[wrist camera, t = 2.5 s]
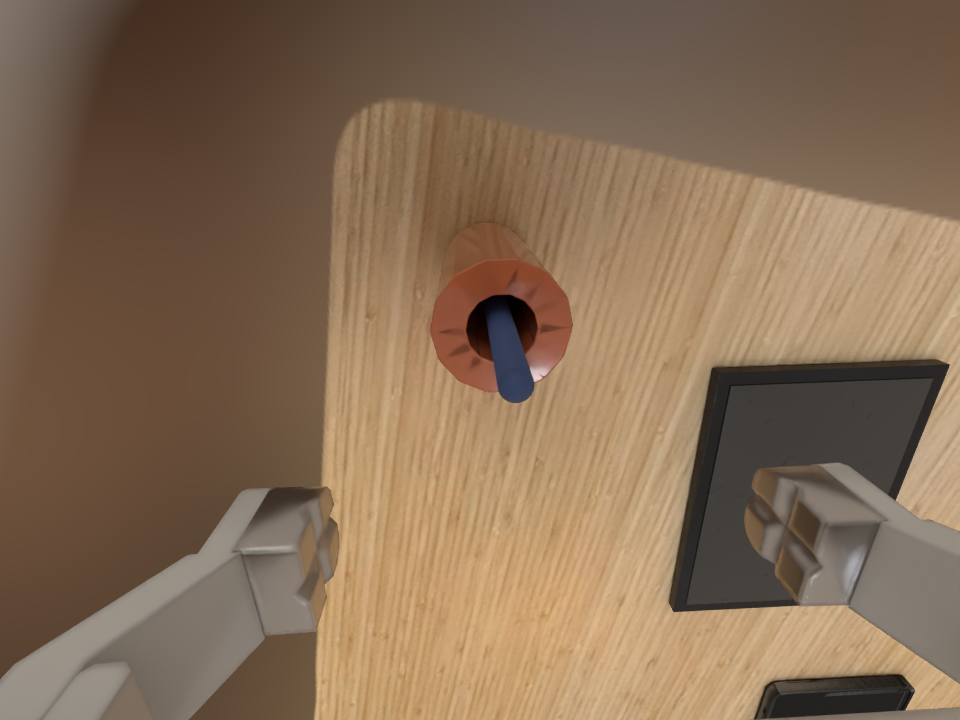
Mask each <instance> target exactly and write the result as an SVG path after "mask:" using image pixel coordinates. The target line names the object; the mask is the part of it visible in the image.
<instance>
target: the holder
mask: <svg viewBox="0 0 960 720" xmlns="http://www.w3.org/2000/svg"><path fill="white" fill-rule="evenodd" d="M493 295H505V297H506V300H507V303H508V306H509V309H510V312H511V315H512V318H513V321H514V324H515V327H516V329H517V332H518V335H519V338H520V341H521V344H522V347H523V350H524V353H525V356H526V359H527V362H528V365H529V367H530V370H531V373H532V376H533V379H534V383H536V382H538V381H540V380H542V379H543V378H545V377H546V376H547V375H548V374H549V373H550V372H551V370H552V369H553V368H554V367H555V366H556V365H557V364H558V362H559V361H560V360H561V359H562V358H563V357H564V355H565V352H566V349H567V345H568V342H569V339H570V335H571V332H572V327H573V323H572V318H571V312H570V307H569V301H568V297H567V296H566V294H565V293H564V291H563V290H562V289H561V288H560V286H559V285H558V284H557V282H556V281H555V280H554V279H553V277H552V276H551V275H550V274H549V272H548V271H547V270H546V269H545V268H544V266H543V265H542V264H541V263H540V262H539V260H538V259H537V258H536V257H535V256H534V254H533V253H532V252H531V251H530V250H529V248H528V247H527V246H526V245H525V244H524V243H523V241H522V240H521V239H520V238H519V237H518V235H517V234H516V233H515V232H514V231H512V230H510V229H509V228H507V227H505V226H503V225H500V224H497V223H492V222H481V223H476V224H473V225H470V226H468V227H466V228H464V229H463V230H461V231H460V232H459V233H457V234H456V235H455V236H454V238H453V239H452V240H451V242H450V243H449V245H448V247H447V248H446V250H445V254H444V259H443V264H442V269H441V275H440V280H439V285H438V290H437V295H436V300H435V305H434V311H433V317H432V323H431V329H430V332H431V337H432V340H433V343H434V346H435V349H436V352H437V356H438V359H439V360H440V362H441V363H442V364H443V365H444V366H445V367H446V368H447V369H448V370H449V371H450V372H451V373H452V374H453V375H454V376H455V377H456V379H457V380H458V381H460V382H462V383H464V384H467V385H470V386H472V387H475V388H477V389H480V390H482V391H485V392H487V391H488V392H499V391H498V387H497V381H496V375H495V369H494V363H493V357H492V351H491V345H490V339H489V333H488V327H487V321H486V314H485V308H484V302H483V300H485V299H487V298H489V297H491V296H493Z"/></svg>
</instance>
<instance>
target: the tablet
mask: <svg viewBox="0 0 960 720" xmlns="http://www.w3.org/2000/svg"><path fill="white" fill-rule="evenodd" d="M949 366H950V365H949V364H947V363H945V362H942V361H940V360H915V361H888V362H862V363H835V364H809V365H783V366H756V367H730V368H713V369H712V374H711V379H710V385H709V390H708V395H707V401H706V406H705V412H704V417H703V422H702V428H701V433H700V439H699V444H698V449H697V455H696V460H695V466H694V471H693V476H692V482H691V487H690V493H689V498H688V503H687V509H686V514H685V520H684V525H683V530H682V536H681V541H680V547H679V552H678V557H677V563H676V568H675V573H674V579H673V584H672V590H671V595H670V600H669V604H670V606H671V608H672V610H673V612H682V611H701V610H721V609H740V608H760V607H779V606H799V605H798V604H797V603H796V601H795V600H794V599H793V597H792V596H791V595H790V594H789V592H788V591H787V590H786V589H785V587H784V586H783V585H782V584H781V582H780V581H779V580H778V578H777V577H776V576H775V564H773V563H772V562H770V561H768V560H767V559H765V558H763V557H762V556H760V555H759V554H758V553H757V551H756V550H755V549H754V547H753V546H752V545H751V543H750V540H749V538H748V536H747V534H746V529H745V523H744V515H745V510H746V505H747V504H748V503H749V502H750V501H751V500H752V499H753V498H754V497H755V496H756V493H755V491H754V490H753V488H752V486H751V484H752V481H753V477H754V474H755V473H756V472H757V470H758V469H759V468H770V467H790V466H811V465H812V464H826V463H841V464H844V465H847V466H850V467H851V468H852V469H854V470H855V471H856V472H858V473H859V474H860V475H862V476H863V477H864V478H866V479H867V480H868V481H870V482H871V483H872V484H874V485H875V486H876V487H878V488H879V489H880V490H882V491H883V492H884V493H886V494H887V495H888V496H890V497H891V498H892V499H894V500H895V501H896V498H897V496H898V493H899V491H900V488H901V486H902V483H903V481H904V478H905V476H906V473H907V471H908V468H909V466H910V463H911V461H912V458H913V456H914V453H915V451H916V448H917V446H918V443H919V441H920V438H921V436H922V433H923V431H924V428H925V426H926V423H927V421H928V418H929V416H930V413H931V411H932V408H933V406H934V403H935V401H936V398H937V396H938V393H939V391H940V388H941V386H942V383H943V381H944V378H945V376H946V373H947V371H948V369H949Z"/></svg>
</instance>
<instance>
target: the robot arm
mask: <svg viewBox="0 0 960 720" xmlns="http://www.w3.org/2000/svg"><path fill="white" fill-rule="evenodd" d="M751 486H752V488H753V490H754V491H755V493H756V496H755V497H754V498H753V499H752V500H751V501H750V502H749V503H748V504H747V505H746V510H745V515H744V523H745V529H746V534H747V536H748V538H749V540H750V543H751V545H752V546H753V547H754V549H755V550H756V551H757V553H758V554H759V555H760V556H762V557H763V558H765V559H767V560H768V561H770V562H772V563H773V564H775V576H776V577H777V578H778V580H779V581H780V582H781V584H782V585H783V586H784V587H785V589H786V590H787V591H788V592H789V594H790V595H791V596H792V597H793V599H794V600H795V601H796V603H797V604H798V605H799V606H831V605H849V607H848V608H850V609H851V610H853V611H854V612H856V613H857V614H859V615H860V616H861V617H863V618H864V619H866V620H867V621H869V622H870V623H872V624H873V625H875V626H876V627H877V628H879V629H880V630H882V631H883V632H885V633H886V634H888V635H889V636H891V637H892V638H894V639H895V640H896V641H898V642H899V643H901V644H902V645H904V646H905V647H907V648H908V649H910V650H911V651H912V652H914V653H915V654H917V655H918V656H920V657H921V658H923V659H924V660H926V661H927V662H929V663H930V664H931V665H933V666H934V667H936V668H937V669H939V670H940V671H942V672H943V673H945V674H946V675H948V676H949V677H950V678H952V679H953V680H955V681H956V682H958V683H959V684H960V531H957V530H955V529H952V528H950V527H947V526H945V525H942V524H940V523H937V522H935V521H932V520H920V519H919V518H918V517H916V516H915V515H914V514H912V513H911V512H910V511H908V510H907V509H906V508H904V507H903V506H902V505H900V504H899V503H898V502H896V501H895V500H894V499H892V498H891V497H890V496H888V495H887V494H886V493H884V492H883V491H882V490H880V489H879V488H878V487H876V486H875V485H874V484H872V483H871V482H870V481H868V480H867V479H866V478H864V477H863V476H862V475H860V474H859V473H858V472H856V471H855V470H854V469H852V468H851V467H850V466H847V465H844V464H841V463H826V464H812V465H811V466H790V467H770V468H759V469H758V470H757V472H756V473H755V474H754V477H753V481H752V484H751ZM333 506H334V503H333V499H332V494H331V490H330V489H329V488H328V487H287V488H257V489H246V490H244V491H242V492H241V493H240V494H239V495H238V497H237V498H236V500H235V501H234V502H233V504H232V505H231V507H230V508H229V510H228V511H227V512H226V514H225V515H224V517H223V518H222V520H221V521H220V522H219V524H218V525H217V527H216V528H215V530H214V531H213V533H212V534H211V535H210V537H209V538H208V540H207V541H206V543H205V544H204V546H203V547H202V548H201V550H200V551H199V553H198V554H193V555H187V556H185V557H184V558H182V559H181V560H179V561H178V562H176V563H174V564H173V565H171V566H170V567H168V568H167V569H165V570H163V571H162V572H160V573H158V574H157V575H155V576H154V577H152V578H151V579H149V580H147V581H146V582H144V583H143V584H141V585H140V586H138V587H136V588H135V589H133V590H132V591H130V592H128V593H127V594H125V595H124V596H122V597H120V598H119V599H117V600H116V601H114V602H113V603H111V604H109V605H108V606H106V607H105V608H103V609H101V610H100V611H98V612H97V613H95V614H93V615H92V616H90V617H89V618H87V619H85V620H84V621H82V622H81V623H79V624H78V625H76V626H75V627H73V628H71V629H70V630H68V631H67V632H65V633H63V634H62V635H60V636H59V637H57V638H56V639H54V640H52V641H51V642H49V643H47V644H46V645H44V646H43V647H41V648H39V649H38V650H36V651H35V652H33V653H32V654H30V655H28V656H27V657H25V658H24V659H22V660H21V661H19V662H17V663H16V664H14V665H13V666H12V668H11V669H10V670H9V671H8V672H7V673H6V674H5V675H4V676H3V677H2V678H1V679H0V720H189V719H190V718H191V717H192V716H193V714H194V713H195V712H196V711H197V710H198V709H199V708H200V707H201V706H202V705H203V704H204V703H205V702H206V701H207V700H208V698H209V697H210V696H211V695H212V694H213V693H214V692H215V691H216V690H217V689H218V688H219V687H220V686H221V685H222V684H223V683H224V681H225V680H226V679H227V678H228V677H229V676H230V675H231V674H232V673H233V672H234V671H235V670H236V669H237V668H238V667H239V665H240V664H241V663H242V662H243V661H244V660H245V659H246V658H247V657H248V656H249V655H250V654H251V653H252V652H253V651H254V649H255V648H256V647H257V646H258V645H259V644H260V643H261V642H262V641H263V640H264V639H265V637H264V636H266V635H278V634H290V633H302V632H314V631H316V629H317V626H318V623H319V620H320V617H321V614H322V611H323V608H324V605H325V602H326V598H327V595H326V590H325V585H324V584H325V583H327V582H328V581H329V580H330V579H331V578H332V577H333V576H334V573H335V569H336V566H337V562H338V554H339V531H338V525H337V523H336V522H335V521H334V520H333V519H332V518H331V517H329V516H330V514H331V511H332V508H333ZM756 720H960V707H956V708H939V709H922V710H905V711H889V712H872V713H856V714H839V715H823V716H806V717H789V718H773V719H756Z"/></svg>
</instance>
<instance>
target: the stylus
mask: <svg viewBox="0 0 960 720" xmlns="http://www.w3.org/2000/svg"><path fill="white" fill-rule="evenodd" d="M483 302H484V308H485V314H486V321H487V327H488V333H489V339H490V345H491V351H492V357H493V363H494V369H495V375H496V381H497V387H498V391H499V393H500V395H501V396H502V397H503V398H504V399H505V400H507V401H509V402H512V403H520V402H523V401H525V400H527V399H528V398H529V397H530V396H531V394H532V392H533V390H534V379H533V376H532V373H531V370H530V367H529V365H528V362H527V359H526V356H525V353H524V350H523V347H522V344H521V341H520V338H519V335H518V332H517V329H516V327H515V324H514V321H513V318H512V315H511V312H510V309H509V306H508V303H507V300H506V297H505V295H493V296H491V297H489V298H487V299H485V300H483Z"/></svg>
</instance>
